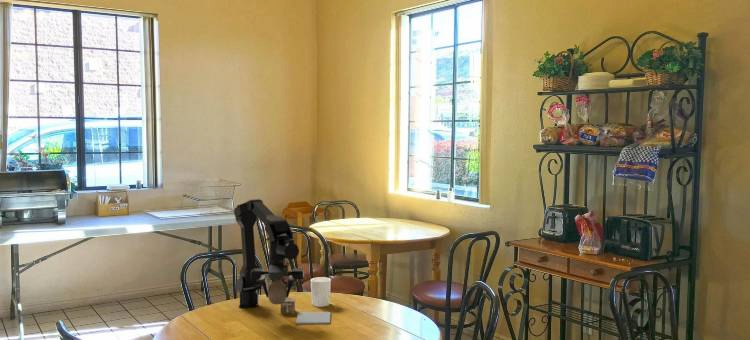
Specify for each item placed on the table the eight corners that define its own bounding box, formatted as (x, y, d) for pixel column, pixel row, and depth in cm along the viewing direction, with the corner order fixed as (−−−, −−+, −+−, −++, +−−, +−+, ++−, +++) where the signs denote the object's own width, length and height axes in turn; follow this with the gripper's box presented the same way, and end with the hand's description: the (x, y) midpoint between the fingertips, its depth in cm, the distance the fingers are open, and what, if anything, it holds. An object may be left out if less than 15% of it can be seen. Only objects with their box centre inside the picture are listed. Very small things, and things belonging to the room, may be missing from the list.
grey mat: (296, 324, 223) (296, 322, 223) (298, 313, 235) (298, 312, 235) (329, 323, 224) (329, 322, 223) (330, 313, 235) (330, 312, 235)
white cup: (321, 308, 242) (321, 283, 241) (306, 304, 246) (306, 279, 246) (334, 304, 248) (334, 279, 247) (319, 300, 253) (320, 276, 252)
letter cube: (280, 314, 234) (280, 301, 233) (281, 310, 239) (281, 297, 238) (294, 314, 234) (294, 301, 234) (295, 310, 239) (295, 297, 239)
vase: (289, 300, 229) (289, 277, 228) (284, 306, 222) (284, 281, 221) (270, 299, 230) (270, 276, 229) (265, 305, 223) (265, 281, 222)
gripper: (247, 259, 216) (248, 304, 217) (302, 259, 217) (302, 303, 218) (252, 252, 227) (252, 295, 228) (304, 252, 228) (304, 294, 229)
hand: (277, 297), depth 226 cm, fingers closed on vase, 7 cm apart
